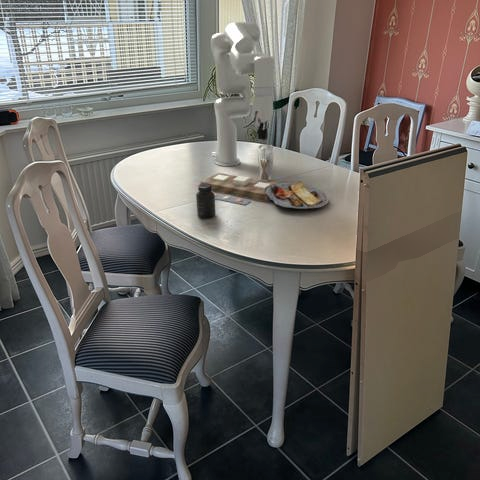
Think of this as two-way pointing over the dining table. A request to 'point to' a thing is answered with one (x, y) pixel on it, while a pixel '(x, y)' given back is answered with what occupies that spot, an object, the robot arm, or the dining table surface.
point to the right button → (261, 186)
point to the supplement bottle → (205, 201)
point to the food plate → (296, 195)
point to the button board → (238, 188)
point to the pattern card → (231, 199)
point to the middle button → (241, 181)
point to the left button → (221, 178)
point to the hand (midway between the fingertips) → (262, 138)
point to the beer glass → (265, 162)
